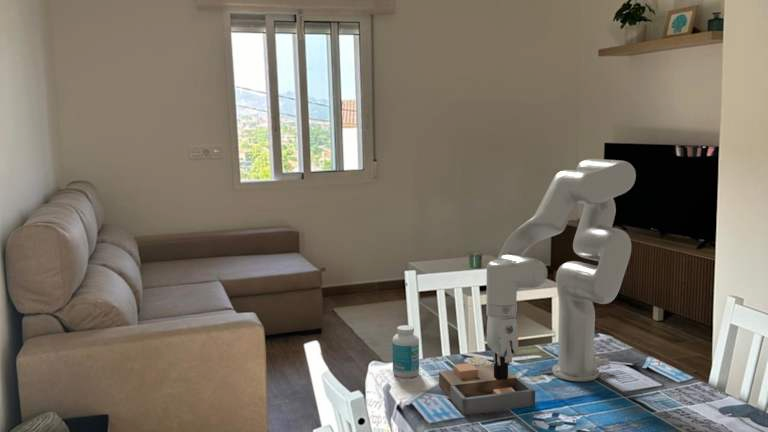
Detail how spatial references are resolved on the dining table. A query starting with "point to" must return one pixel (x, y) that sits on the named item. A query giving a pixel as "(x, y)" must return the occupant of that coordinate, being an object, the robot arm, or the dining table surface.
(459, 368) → the tile
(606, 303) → the robot arm
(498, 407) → the tray
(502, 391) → the tile
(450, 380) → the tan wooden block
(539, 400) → the dining table surface
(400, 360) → the pill bottle
